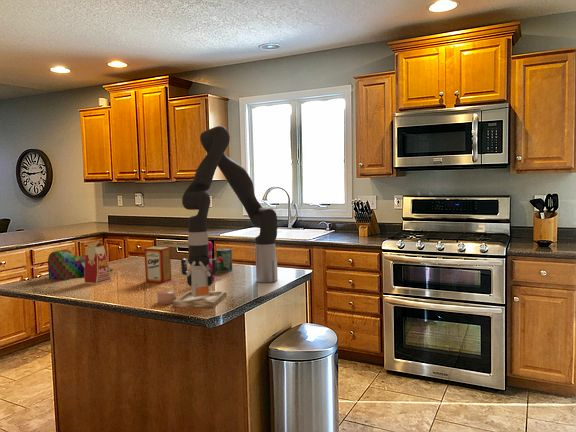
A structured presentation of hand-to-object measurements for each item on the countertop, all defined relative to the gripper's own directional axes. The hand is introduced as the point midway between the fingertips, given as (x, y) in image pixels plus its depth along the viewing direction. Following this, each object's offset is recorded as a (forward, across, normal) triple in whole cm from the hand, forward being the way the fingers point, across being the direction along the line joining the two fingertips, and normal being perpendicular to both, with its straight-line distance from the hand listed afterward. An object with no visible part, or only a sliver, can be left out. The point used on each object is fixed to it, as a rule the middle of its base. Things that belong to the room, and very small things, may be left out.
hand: (200, 285), depth 188 cm
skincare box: (+4, 0, 0) cm, 4 cm away
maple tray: (+6, 0, 0) cm, 6 cm away
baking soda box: (+7, +33, -34) cm, 48 cm away
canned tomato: (+7, +9, -60) cm, 61 cm away
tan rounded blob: (+6, +13, +2) cm, 15 cm away
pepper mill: (+7, +10, -37) cm, 39 cm away
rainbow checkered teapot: (+7, +80, -46) cm, 93 cm away
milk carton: (+6, +62, -30) cm, 69 cm away
